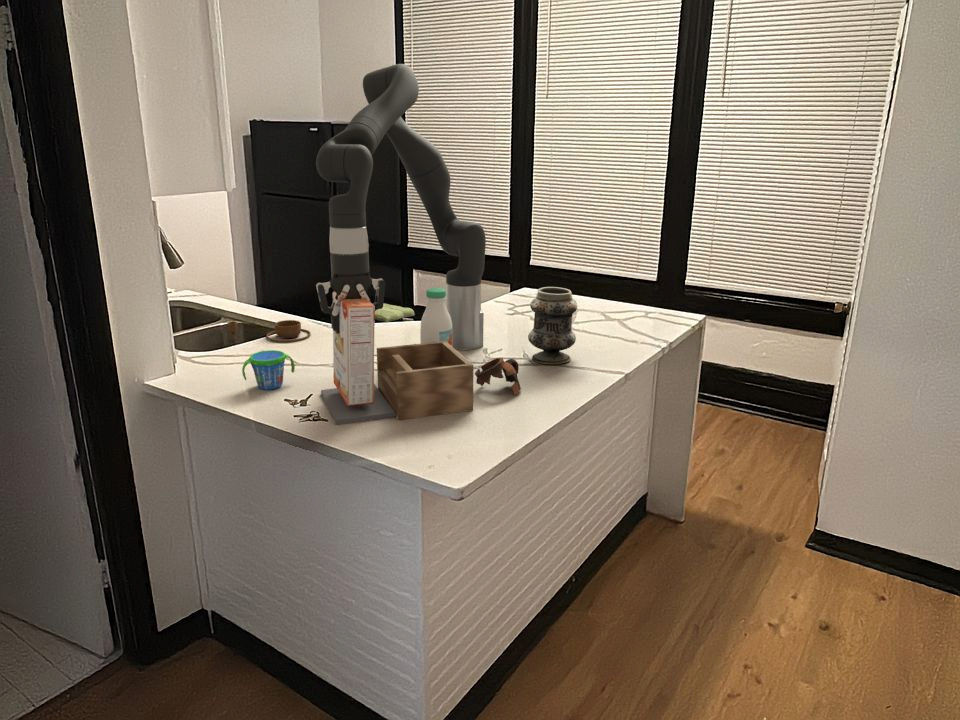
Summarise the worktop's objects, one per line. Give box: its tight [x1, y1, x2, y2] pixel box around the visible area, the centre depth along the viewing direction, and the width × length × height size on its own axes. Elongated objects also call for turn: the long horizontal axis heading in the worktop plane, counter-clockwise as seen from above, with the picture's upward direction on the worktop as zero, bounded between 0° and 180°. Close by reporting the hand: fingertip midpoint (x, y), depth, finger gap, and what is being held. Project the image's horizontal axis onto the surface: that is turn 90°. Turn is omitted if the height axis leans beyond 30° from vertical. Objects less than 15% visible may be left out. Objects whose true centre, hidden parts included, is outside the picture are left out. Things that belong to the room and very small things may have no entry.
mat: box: [320, 383, 396, 425], centre depth 152 cm, size 12×18×1 cm, turn 21°
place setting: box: [227, 319, 311, 344], centre depth 200 cm, size 18×20×6 cm
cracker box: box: [332, 291, 376, 406], centre depth 149 cm, size 14×6×21 cm, turn 22°
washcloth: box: [375, 303, 415, 323], centre depth 223 cm, size 13×18×3 cm
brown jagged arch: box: [474, 357, 522, 396], centre depth 162 cm, size 12×9×8 cm
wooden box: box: [376, 341, 474, 421], centre depth 154 cm, size 16×18×10 cm
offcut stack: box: [386, 355, 412, 387], centre depth 153 cm, size 4×12×9 cm, turn 21°
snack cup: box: [241, 349, 296, 391], centre depth 162 cm, size 11×8×7 cm
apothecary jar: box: [527, 286, 578, 366], centre depth 181 cm, size 12×12×18 cm
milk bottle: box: [419, 287, 453, 347], centre depth 172 cm, size 8×8×20 cm
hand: (353, 330), depth 148 cm, fingers closed on cracker box, 6 cm apart
